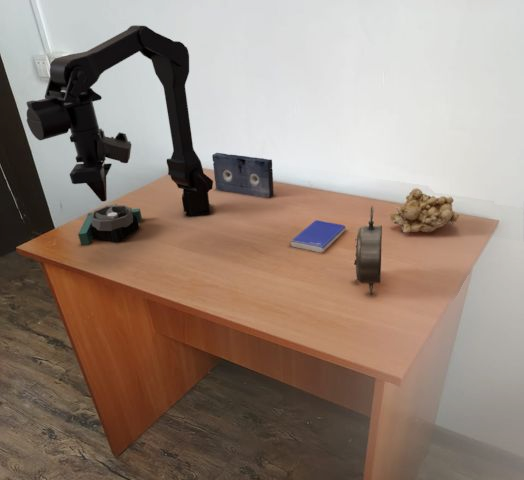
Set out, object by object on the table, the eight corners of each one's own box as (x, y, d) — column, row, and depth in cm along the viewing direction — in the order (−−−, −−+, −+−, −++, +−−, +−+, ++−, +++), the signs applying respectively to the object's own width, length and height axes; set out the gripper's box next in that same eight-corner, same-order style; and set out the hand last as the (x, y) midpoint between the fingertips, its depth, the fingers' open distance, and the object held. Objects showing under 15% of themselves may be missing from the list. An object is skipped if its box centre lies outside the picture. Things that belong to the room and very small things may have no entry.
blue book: (322, 246, 111) (345, 225, 119) (290, 240, 115) (314, 219, 123) (322, 253, 112) (345, 231, 120) (290, 246, 116) (314, 225, 124)
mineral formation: (408, 211, 127) (468, 219, 119) (385, 239, 120) (447, 250, 112) (408, 181, 121) (471, 188, 113) (383, 209, 115) (448, 218, 107)
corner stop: (142, 219, 133) (139, 208, 132) (136, 240, 123) (133, 229, 121) (91, 223, 133) (88, 212, 131) (81, 245, 123) (77, 234, 121)
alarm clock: (379, 298, 96) (387, 219, 86) (350, 297, 97) (355, 218, 87) (380, 270, 104) (387, 195, 94) (354, 269, 106) (358, 194, 95)
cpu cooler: (115, 222, 118) (81, 218, 122) (121, 244, 122) (87, 239, 125) (139, 205, 126) (106, 202, 129) (144, 227, 129) (111, 223, 133)
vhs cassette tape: (274, 195, 141) (272, 159, 135) (268, 198, 139) (267, 162, 133) (221, 186, 149) (217, 151, 143) (215, 189, 147) (211, 155, 141)
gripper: (116, 136, 96) (134, 214, 106) (129, 113, 111) (144, 183, 120) (58, 141, 96) (82, 218, 105) (78, 117, 110) (97, 187, 120)
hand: (104, 200), depth 113 cm, fingers closed
